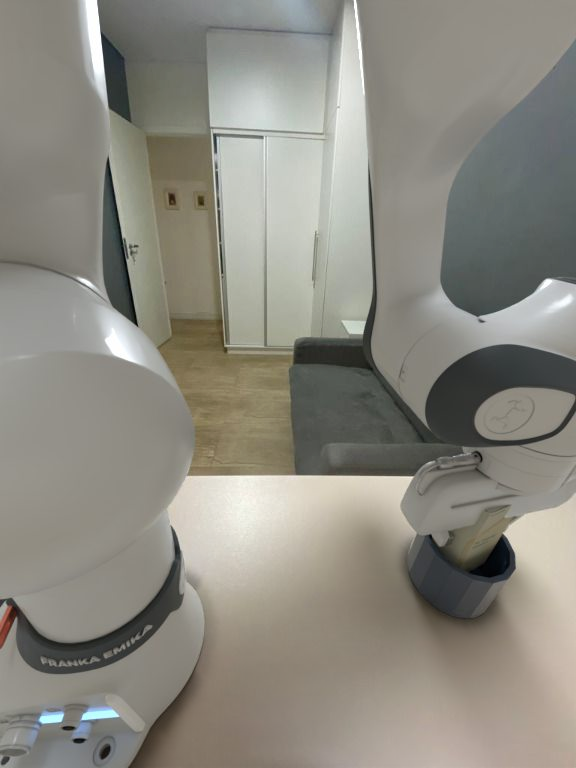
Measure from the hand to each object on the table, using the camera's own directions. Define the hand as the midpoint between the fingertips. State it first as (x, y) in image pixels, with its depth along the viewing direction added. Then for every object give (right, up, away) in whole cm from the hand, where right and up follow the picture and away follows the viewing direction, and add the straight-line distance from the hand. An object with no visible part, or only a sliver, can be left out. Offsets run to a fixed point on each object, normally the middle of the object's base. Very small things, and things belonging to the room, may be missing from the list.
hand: (467, 534), depth 38 cm
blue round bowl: (0, -8, +4) cm, 9 cm away
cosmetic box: (0, -4, +3) cm, 5 cm away
